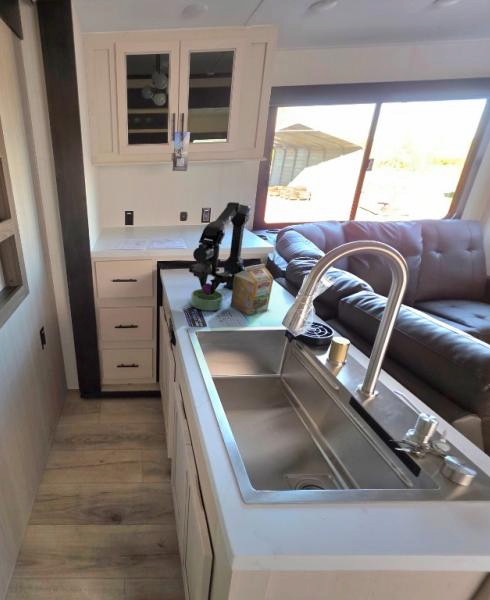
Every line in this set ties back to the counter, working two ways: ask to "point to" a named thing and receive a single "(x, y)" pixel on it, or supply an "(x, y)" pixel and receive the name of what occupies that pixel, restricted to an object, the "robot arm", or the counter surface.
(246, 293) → the milk carton
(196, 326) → the counter surface
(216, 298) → the bowl
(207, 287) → the ball
